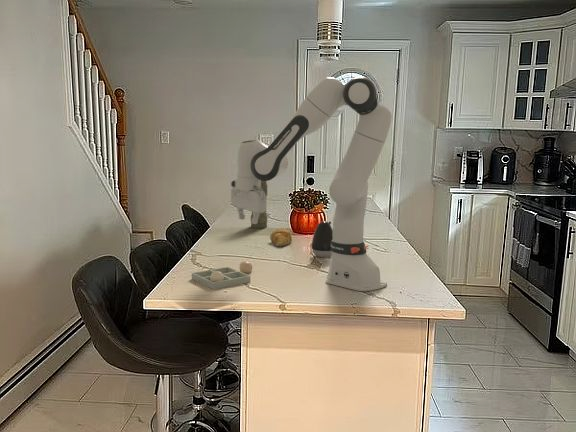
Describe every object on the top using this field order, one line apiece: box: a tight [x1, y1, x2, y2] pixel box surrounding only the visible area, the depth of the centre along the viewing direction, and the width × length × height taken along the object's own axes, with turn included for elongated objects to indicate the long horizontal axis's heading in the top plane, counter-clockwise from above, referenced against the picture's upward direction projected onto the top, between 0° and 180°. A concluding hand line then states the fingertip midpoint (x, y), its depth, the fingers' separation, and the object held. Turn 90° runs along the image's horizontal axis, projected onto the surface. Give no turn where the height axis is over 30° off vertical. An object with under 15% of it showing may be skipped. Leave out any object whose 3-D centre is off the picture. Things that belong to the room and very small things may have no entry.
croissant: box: [269, 228, 293, 247], centre depth 260 cm, size 21×10×8 cm, turn 179°
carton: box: [191, 266, 251, 290], centre depth 195 cm, size 15×15×3 cm
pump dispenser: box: [311, 220, 333, 259], centre depth 234 cm, size 10×10×15 cm
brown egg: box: [239, 260, 253, 274], centre depth 206 cm, size 5×5×5 cm
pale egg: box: [210, 271, 224, 282], centre depth 189 cm, size 5×5×5 cm
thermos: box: [250, 180, 268, 229], centre depth 296 cm, size 9×12×35 cm
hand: (247, 221), depth 205 cm, fingers open, 8 cm apart
